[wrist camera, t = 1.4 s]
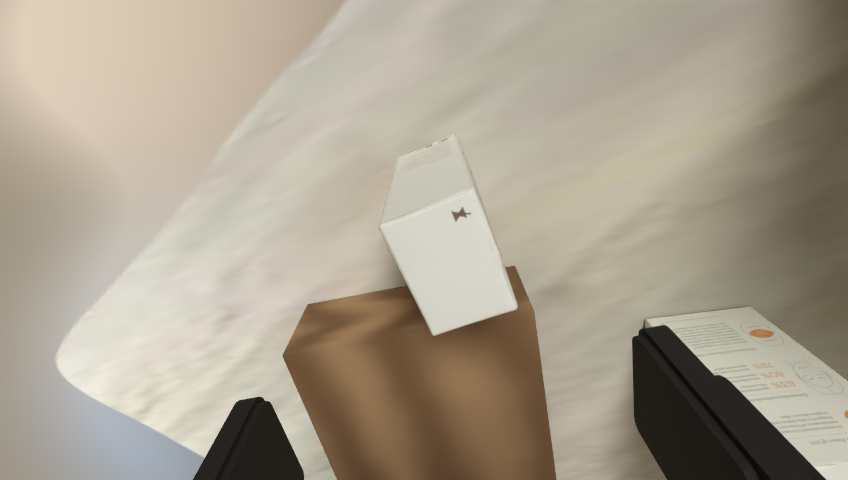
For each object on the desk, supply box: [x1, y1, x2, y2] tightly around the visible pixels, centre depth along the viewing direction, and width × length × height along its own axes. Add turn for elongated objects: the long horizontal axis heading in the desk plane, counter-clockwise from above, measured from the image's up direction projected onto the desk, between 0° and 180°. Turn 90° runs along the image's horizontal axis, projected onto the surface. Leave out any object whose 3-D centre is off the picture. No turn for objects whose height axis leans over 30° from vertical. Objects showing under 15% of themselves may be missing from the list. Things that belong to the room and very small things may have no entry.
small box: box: [645, 307, 848, 480], centre depth 27 cm, size 8×6×13 cm
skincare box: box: [379, 134, 518, 336], centre depth 22 cm, size 6×4×12 cm
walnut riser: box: [283, 266, 556, 480], centre depth 31 cm, size 16×16×6 cm
